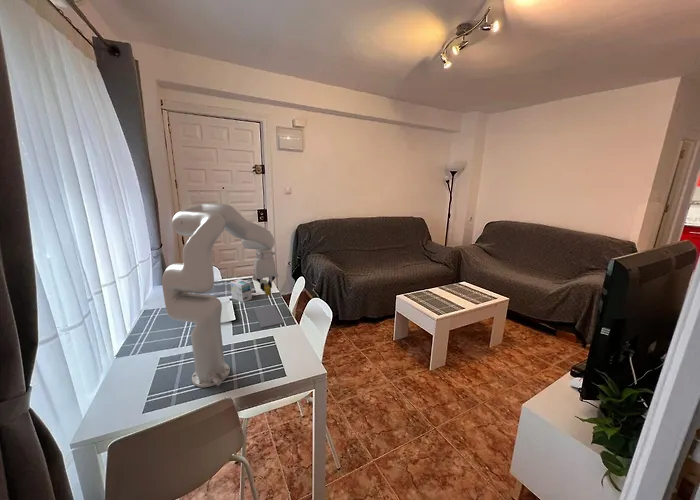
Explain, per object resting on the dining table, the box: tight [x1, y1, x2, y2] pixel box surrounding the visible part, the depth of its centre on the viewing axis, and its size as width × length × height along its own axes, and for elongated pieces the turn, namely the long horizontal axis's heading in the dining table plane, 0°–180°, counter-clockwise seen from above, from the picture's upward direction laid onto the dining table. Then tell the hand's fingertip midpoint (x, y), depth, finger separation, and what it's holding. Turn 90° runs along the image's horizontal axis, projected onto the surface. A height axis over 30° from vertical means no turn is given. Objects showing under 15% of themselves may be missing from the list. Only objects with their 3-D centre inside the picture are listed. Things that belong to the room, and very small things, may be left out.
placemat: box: [253, 304, 284, 329], centre depth 147 cm, size 22×11×1 cm, turn 27°
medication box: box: [263, 279, 272, 297], centre depth 143 cm, size 12×3×4 cm, turn 27°
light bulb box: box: [230, 278, 253, 303], centre depth 166 cm, size 11×7×11 cm, turn 58°
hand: (266, 289), depth 143 cm, fingers closed on medication box, 2 cm apart
